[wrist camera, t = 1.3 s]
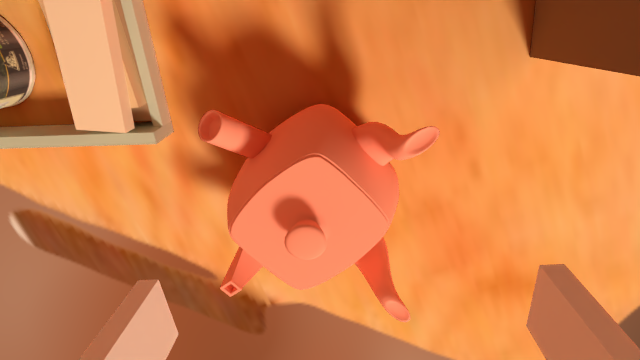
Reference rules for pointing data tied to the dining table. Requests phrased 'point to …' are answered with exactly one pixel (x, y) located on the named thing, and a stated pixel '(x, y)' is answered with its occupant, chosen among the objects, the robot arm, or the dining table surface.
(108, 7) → the rack
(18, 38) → the coffee can
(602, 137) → the dining table surface
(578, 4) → the book
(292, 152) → the teapot
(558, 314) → the robot arm
